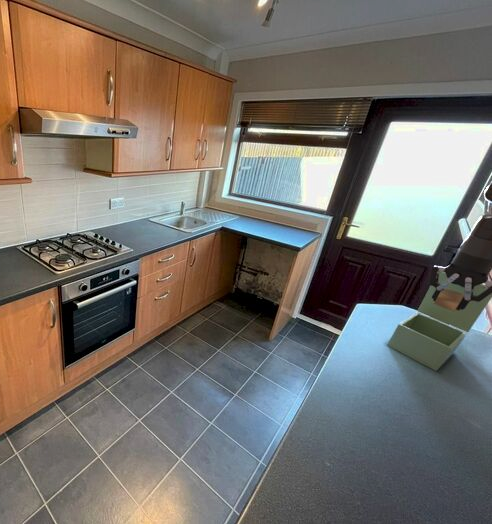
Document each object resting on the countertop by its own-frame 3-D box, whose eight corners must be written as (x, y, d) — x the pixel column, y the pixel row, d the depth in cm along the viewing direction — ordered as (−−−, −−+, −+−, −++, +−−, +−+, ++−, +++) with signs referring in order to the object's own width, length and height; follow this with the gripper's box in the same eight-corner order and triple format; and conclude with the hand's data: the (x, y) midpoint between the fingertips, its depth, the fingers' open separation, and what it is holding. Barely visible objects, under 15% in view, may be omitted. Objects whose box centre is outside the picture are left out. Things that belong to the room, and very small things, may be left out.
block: (433, 303, 85) (441, 291, 83) (438, 300, 87) (446, 287, 85) (453, 311, 81) (462, 298, 79) (458, 307, 83) (466, 294, 81)
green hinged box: (435, 371, 84) (451, 348, 80) (386, 345, 94) (398, 324, 90) (452, 354, 92) (467, 333, 88) (405, 331, 101) (417, 311, 98)
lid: (496, 289, 79) (503, 282, 82) (438, 271, 89) (445, 265, 91) (467, 332, 88) (475, 324, 90) (417, 311, 97) (424, 304, 100)
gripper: (522, 260, 73) (483, 314, 80) (448, 242, 84) (420, 291, 91) (515, 265, 69) (476, 321, 77) (439, 245, 80) (411, 296, 88)
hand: (446, 304), depth 84 cm, fingers closed on block, 4 cm apart
